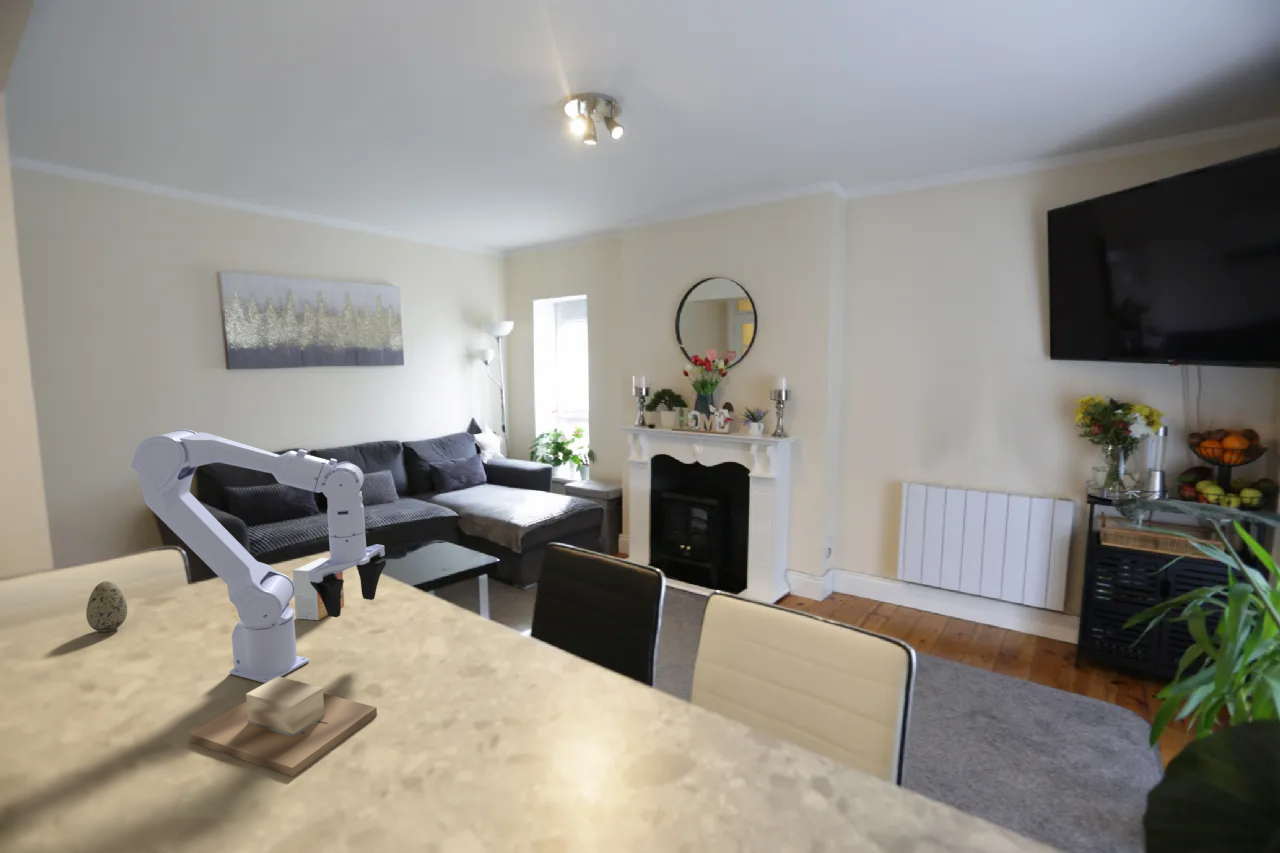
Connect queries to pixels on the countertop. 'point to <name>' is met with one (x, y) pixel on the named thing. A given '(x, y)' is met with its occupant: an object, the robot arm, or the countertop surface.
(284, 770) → the oak board
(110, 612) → the decorative egg
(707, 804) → the countertop surface
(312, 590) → the small box
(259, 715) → the block
